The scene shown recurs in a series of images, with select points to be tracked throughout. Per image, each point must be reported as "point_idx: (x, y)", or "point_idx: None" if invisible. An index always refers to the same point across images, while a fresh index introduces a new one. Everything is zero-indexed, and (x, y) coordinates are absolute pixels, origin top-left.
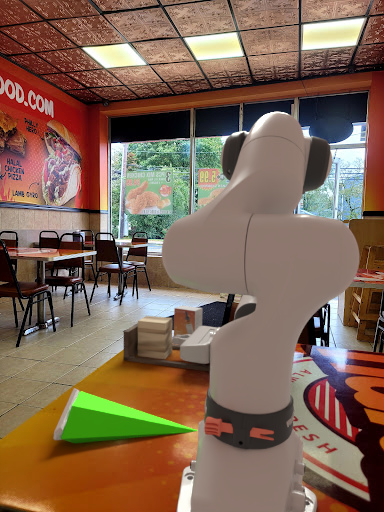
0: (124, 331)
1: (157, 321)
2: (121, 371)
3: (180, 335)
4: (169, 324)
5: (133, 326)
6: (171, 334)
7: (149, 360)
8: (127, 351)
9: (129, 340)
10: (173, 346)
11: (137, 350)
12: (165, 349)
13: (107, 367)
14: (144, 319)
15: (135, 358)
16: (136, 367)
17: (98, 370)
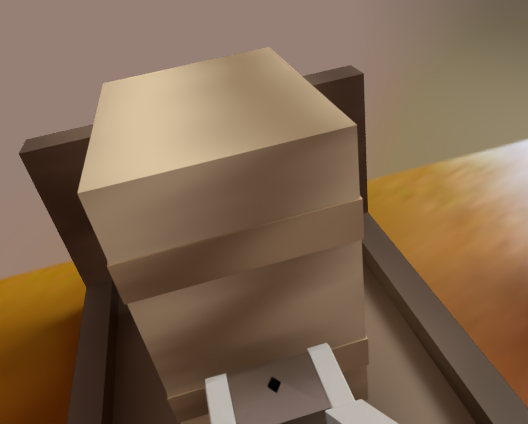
0: (26, 141)
1: (136, 131)
2: (5, 349)
3: (326, 394)
4: (260, 199)
5: None
6: (344, 287)
7: (71, 402)
8: (73, 257)
9: (64, 204)
10: (437, 350)
11: None
12: (188, 403)
13: (48, 279)
14: (160, 79)
15: (82, 320)
16: None
17: (8, 277)
